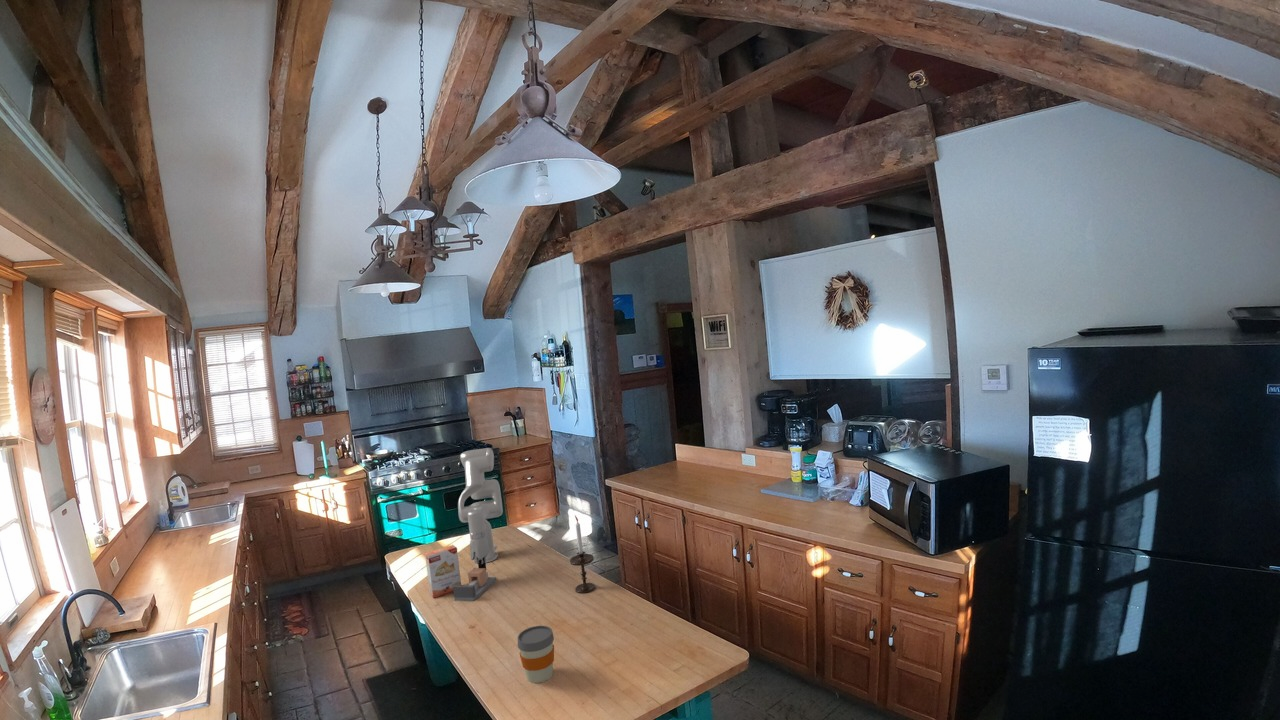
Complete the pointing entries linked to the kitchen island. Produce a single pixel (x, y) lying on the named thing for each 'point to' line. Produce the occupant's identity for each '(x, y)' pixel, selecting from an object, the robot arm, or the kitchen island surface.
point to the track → (479, 590)
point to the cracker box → (442, 570)
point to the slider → (478, 576)
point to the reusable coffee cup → (537, 653)
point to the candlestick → (582, 564)
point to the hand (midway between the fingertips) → (482, 571)
